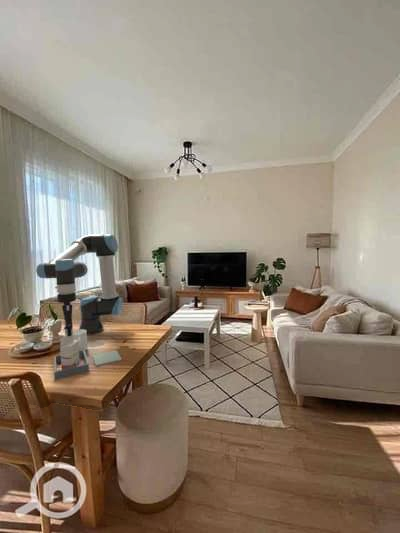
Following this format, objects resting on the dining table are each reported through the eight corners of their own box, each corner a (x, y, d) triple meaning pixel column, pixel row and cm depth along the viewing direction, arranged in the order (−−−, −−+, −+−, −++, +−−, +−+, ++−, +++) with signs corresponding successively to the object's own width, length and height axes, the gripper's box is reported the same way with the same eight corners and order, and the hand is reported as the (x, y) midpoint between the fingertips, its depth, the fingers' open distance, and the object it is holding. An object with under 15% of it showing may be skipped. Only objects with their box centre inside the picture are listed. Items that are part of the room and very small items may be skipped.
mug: (88, 353, 132) (87, 334, 131) (71, 357, 128) (70, 337, 127) (86, 346, 142) (85, 328, 141) (70, 349, 138) (69, 331, 137)
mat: (92, 357, 127) (92, 355, 127) (116, 351, 133) (116, 350, 133) (95, 366, 117) (95, 365, 117) (121, 360, 123) (121, 358, 123)
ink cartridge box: (72, 371, 113) (70, 339, 112) (61, 372, 113) (59, 340, 111) (80, 362, 121) (78, 333, 120) (69, 363, 121) (67, 333, 120)
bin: (54, 363, 122) (54, 356, 121) (84, 356, 128) (84, 349, 128) (54, 380, 106) (54, 372, 105) (89, 371, 112) (88, 364, 112)
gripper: (56, 290, 123) (59, 332, 124) (57, 298, 102) (60, 348, 103) (73, 288, 127) (75, 329, 128) (77, 296, 105) (80, 344, 107)
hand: (69, 338), depth 116 cm, fingers open, 13 cm apart
